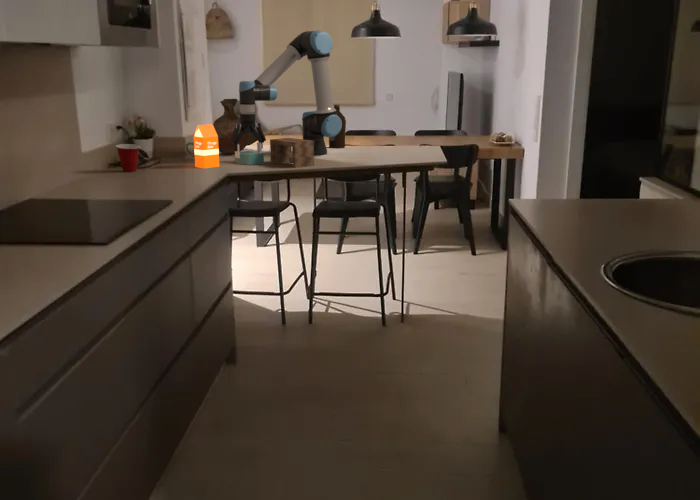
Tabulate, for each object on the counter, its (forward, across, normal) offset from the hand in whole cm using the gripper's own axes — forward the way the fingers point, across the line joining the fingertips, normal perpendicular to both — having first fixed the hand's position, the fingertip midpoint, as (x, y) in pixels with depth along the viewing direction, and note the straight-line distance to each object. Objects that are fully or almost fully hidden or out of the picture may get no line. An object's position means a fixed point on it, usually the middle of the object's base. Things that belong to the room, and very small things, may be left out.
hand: (248, 156), depth 342 cm
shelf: (+3, -12, +19) cm, 23 cm away
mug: (+4, +12, -26) cm, 29 cm away
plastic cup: (+4, +56, -16) cm, 58 cm away
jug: (+3, -14, -36) cm, 39 cm away
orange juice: (+4, +22, -4) cm, 22 cm away
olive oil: (+2, -78, -19) cm, 81 cm away
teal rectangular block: (+3, 0, 0) cm, 3 cm away
